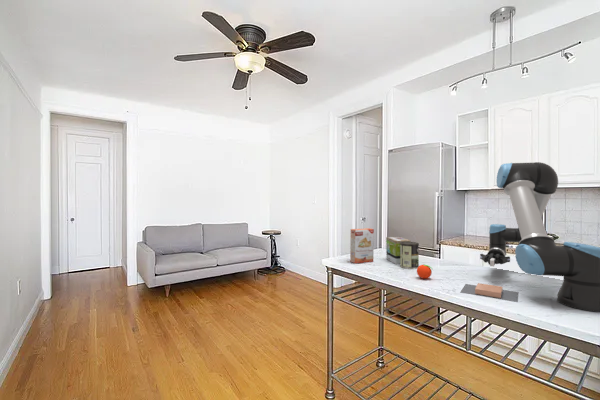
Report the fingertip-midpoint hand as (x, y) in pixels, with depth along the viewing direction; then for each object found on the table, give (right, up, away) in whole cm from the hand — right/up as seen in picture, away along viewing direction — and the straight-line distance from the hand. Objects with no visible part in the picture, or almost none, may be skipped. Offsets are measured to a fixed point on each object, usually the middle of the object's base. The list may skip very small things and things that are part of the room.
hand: (491, 263), depth 138 cm
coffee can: (-24, -10, +37) cm, 46 cm away
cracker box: (-49, -10, +51) cm, 72 cm away
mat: (-7, -11, -10) cm, 16 cm away
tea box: (-26, -10, +51) cm, 59 cm away
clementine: (-25, -11, +13) cm, 30 cm away
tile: (-5, -9, -7) cm, 13 cm away
